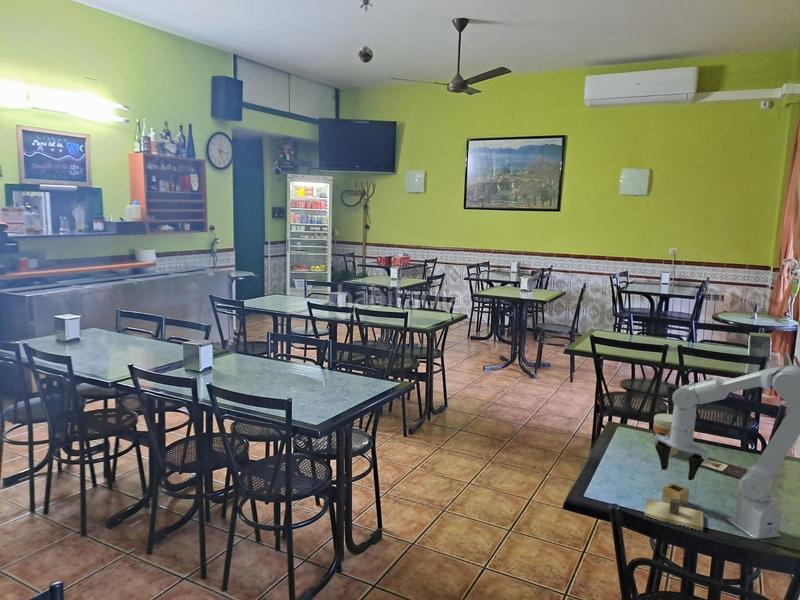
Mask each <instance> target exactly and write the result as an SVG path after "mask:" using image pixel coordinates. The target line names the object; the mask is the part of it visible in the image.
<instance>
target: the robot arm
mask: <svg viewBox="0 0 800 600" xmlns="http://www.w3.org/2000/svg"><path fill="white" fill-rule="evenodd" d="M759 387H760V388H762V389H765V390H767V391H770V392H772V390H773V389H774V391H775V393H777V394H778V395H779V396H780V397H781V398H782V399H783V400H784V402H785V405H786V406H787V408H788V412H787V414H786V416H784V419H782V421H781V423H780V425H779V426H778V428H777V430H776V431H775V432H774V434H773V436H772V438H771V439H770V441H769V442H768V443H767V446H766V447H765V449H763V452H762V453H761V455H760V456H759V457H758V459H757V461H756V463H755V464H753V465H751V466H750V467H748V468H747V469H748V470H747V473H746V474H745V475H744V476H743V477H742V478H741V479H739V481H738V487H739V488H738V495H737V503H736V513H735V517H728V518H726V521H728V522H729V523H730V524H732V525H734V526H735V527H736V528H738V529H739V530H740V531H742V532H744V533H745V534H746V535H748V536H749V537H751V538H752V539H754V540H757V539H758V540H760V539H769V538H776V537H777V538H780V537H781V534H780V533H779V527H780V522H781V516H782V515H781V511H780V508H778V506H776V505H775V504H774V502H773V501H772V495H771V493H770V492H771V491H770V490H769V489H770V488H771V487H772V486H773V484H774V482H775V474H776V472H777V470H778V469H779V467H780V465H782V462H783V461H784V459H785V458H786V457H787V456H788V454H789V452H790V450H791V449H792V448H793V445H794V444H795V443H796V441H797V440H798V438H799V437H800V366H799V365H795V364H789V365H785V366H784V367H781V366H775V367H771V368H766V369H762V370H757V371H755V372H751V373H748V374H745V375H741V376H738V377H737V376H736V377H734V378H730V379H727V380H724V379H721V378H719V377H715V378H714V377H713V376H709V377H707V378H706V379H705V380H703V381H699V382H695V383H694V382H690V383H688V384H684V385H682V386H680V387H679V388H677V389H675V391H673V393H672V396H671V399H672V402H673V411H672V415H673V417H672V427H671V436H670V437H667V436H662V435H659V434H657V435H655V436H654V435H653V439H654V442H656V443H658V444H657V445H656V446H655V448H656V450H657V452H658V453H657V452H656V453H657V454H658V457H659V461H660V468H661V470H662V471H666V470H667V469H668V467H669V459H670V456H669V454H670V450H671V447H673V448H676V449H678V451H682V452H685V453H688V454H691V455H690V456H688V468H689V469H688V475H687V479H688V481H693V480H694V479H695V477H696V475H697V473H698V470H699V468H701V467H700V465H701V464H702V462H703V461H704V460H705V459H707V458H710V451H709V450H707V449H704V448H702V447H701V446H698V445H696V444H695V443H694V436H695V435H694V434H695V425H696V418H697V408H698V407H697V404H698V405H703V404H709V403H712V402H717V401H720V400H725V399H726V398H727V397H728V395H729V393H734V392H738V391H745V390H749V389H755V388H759Z"/></svg>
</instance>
